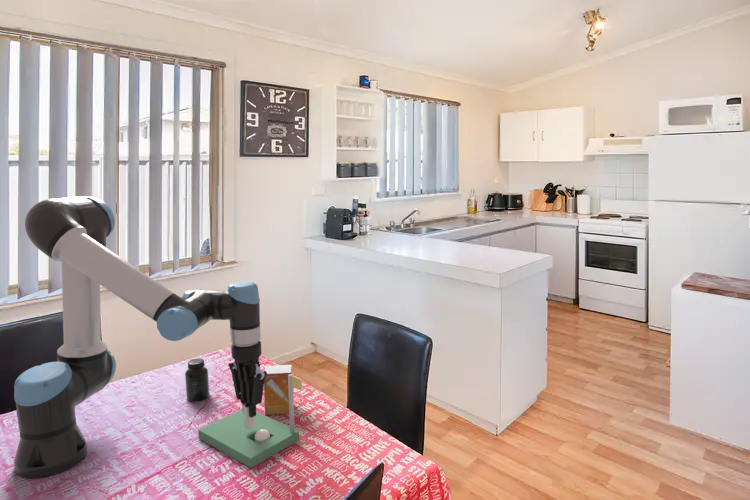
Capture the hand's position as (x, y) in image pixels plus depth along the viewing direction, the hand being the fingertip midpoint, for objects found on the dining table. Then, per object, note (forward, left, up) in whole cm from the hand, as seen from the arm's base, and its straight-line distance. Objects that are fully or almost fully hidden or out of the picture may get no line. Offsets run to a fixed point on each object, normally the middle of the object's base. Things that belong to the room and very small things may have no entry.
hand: (250, 426), depth 131 cm
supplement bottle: (-34, +6, -4) cm, 34 cm away
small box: (-7, +16, -4) cm, 18 cm away
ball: (+5, 0, -2) cm, 5 cm away
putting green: (+1, 0, -4) cm, 4 cm away
